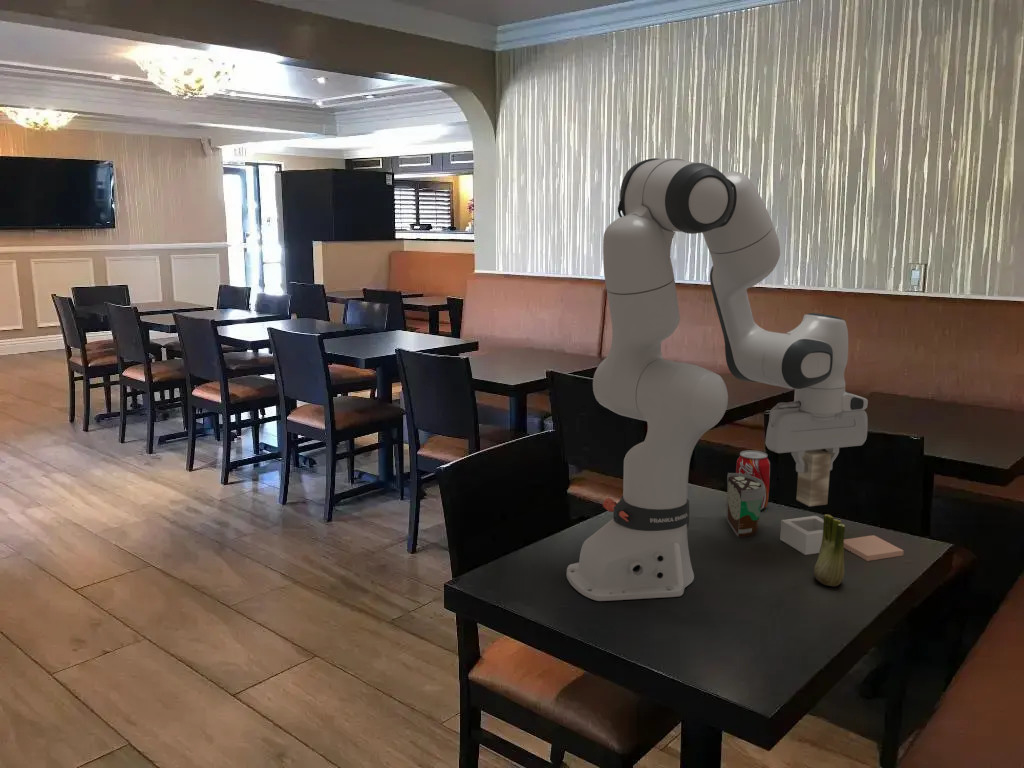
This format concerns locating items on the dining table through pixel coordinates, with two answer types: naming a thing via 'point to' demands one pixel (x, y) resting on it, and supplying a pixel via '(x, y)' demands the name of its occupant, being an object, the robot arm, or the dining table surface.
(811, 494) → the ash peg
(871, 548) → the terracotta tile
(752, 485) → the food container
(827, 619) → the dining table surface
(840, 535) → the fennel bulb
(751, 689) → the dining table surface
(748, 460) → the soda can
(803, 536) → the pocket collar
